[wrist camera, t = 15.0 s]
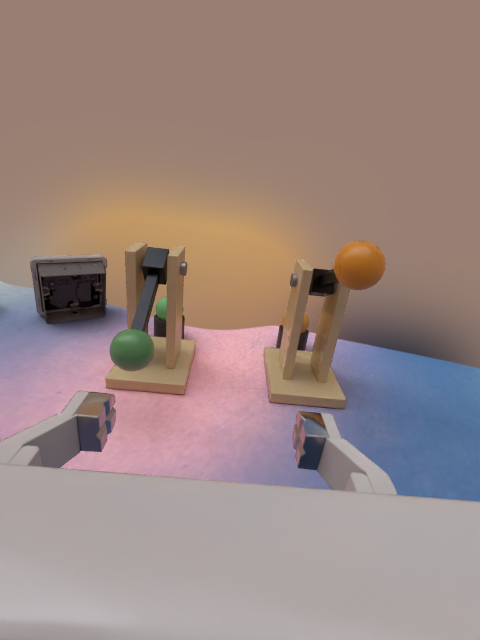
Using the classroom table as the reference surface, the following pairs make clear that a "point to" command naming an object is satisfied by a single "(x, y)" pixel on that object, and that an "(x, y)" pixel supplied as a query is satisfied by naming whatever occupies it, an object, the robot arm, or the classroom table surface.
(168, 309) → the wooden lever stand
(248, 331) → the classroom table surface
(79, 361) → the classroom table surface
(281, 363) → the tan wooden upright frame
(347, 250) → the amber switch
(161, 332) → the green lamp
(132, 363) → the green switch
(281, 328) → the amber lamp
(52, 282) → the electrical switch
